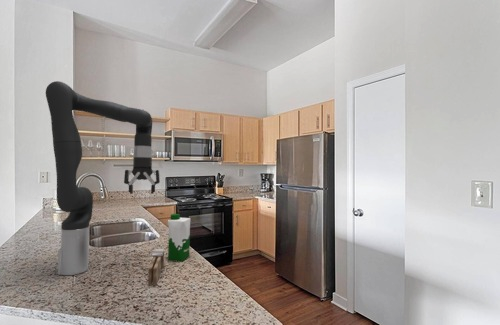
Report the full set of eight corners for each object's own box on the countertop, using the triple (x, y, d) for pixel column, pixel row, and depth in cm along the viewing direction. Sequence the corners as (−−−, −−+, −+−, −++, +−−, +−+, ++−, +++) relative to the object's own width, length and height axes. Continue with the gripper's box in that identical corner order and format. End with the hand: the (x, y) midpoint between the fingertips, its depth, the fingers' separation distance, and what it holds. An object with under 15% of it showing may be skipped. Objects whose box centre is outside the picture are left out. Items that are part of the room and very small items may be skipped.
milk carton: (174, 254, 123) (175, 212, 123) (192, 256, 121) (192, 213, 121) (164, 261, 114) (165, 216, 115) (183, 262, 112) (184, 216, 113)
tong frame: (153, 265, 108) (154, 249, 109) (163, 265, 109) (164, 248, 109) (146, 286, 89) (146, 266, 89) (158, 285, 90) (159, 265, 90)
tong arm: (154, 268, 105) (155, 254, 105) (161, 267, 105) (161, 253, 106) (147, 285, 89) (148, 269, 90) (156, 284, 90) (156, 268, 90)
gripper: (123, 156, 108) (122, 194, 107) (158, 156, 111) (158, 194, 111) (127, 156, 115) (126, 193, 114) (160, 157, 118) (160, 192, 118)
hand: (142, 193), depth 112 cm, fingers open, 8 cm apart
